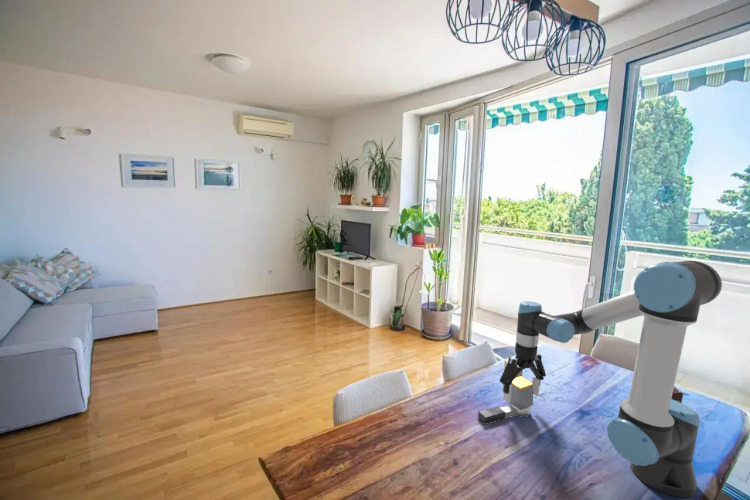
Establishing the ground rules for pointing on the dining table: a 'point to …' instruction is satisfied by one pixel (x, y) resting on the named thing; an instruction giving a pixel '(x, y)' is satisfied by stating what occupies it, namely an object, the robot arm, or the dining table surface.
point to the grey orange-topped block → (522, 393)
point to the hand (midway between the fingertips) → (521, 397)
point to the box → (677, 395)
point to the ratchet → (502, 413)
